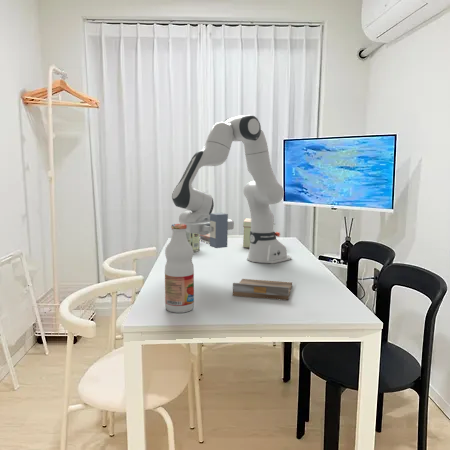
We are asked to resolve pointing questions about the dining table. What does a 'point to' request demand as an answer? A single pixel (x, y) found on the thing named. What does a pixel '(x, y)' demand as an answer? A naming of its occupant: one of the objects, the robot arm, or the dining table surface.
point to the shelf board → (262, 289)
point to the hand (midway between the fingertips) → (219, 228)
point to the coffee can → (194, 240)
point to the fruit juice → (179, 272)
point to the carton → (219, 230)
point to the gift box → (246, 232)
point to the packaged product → (205, 238)
